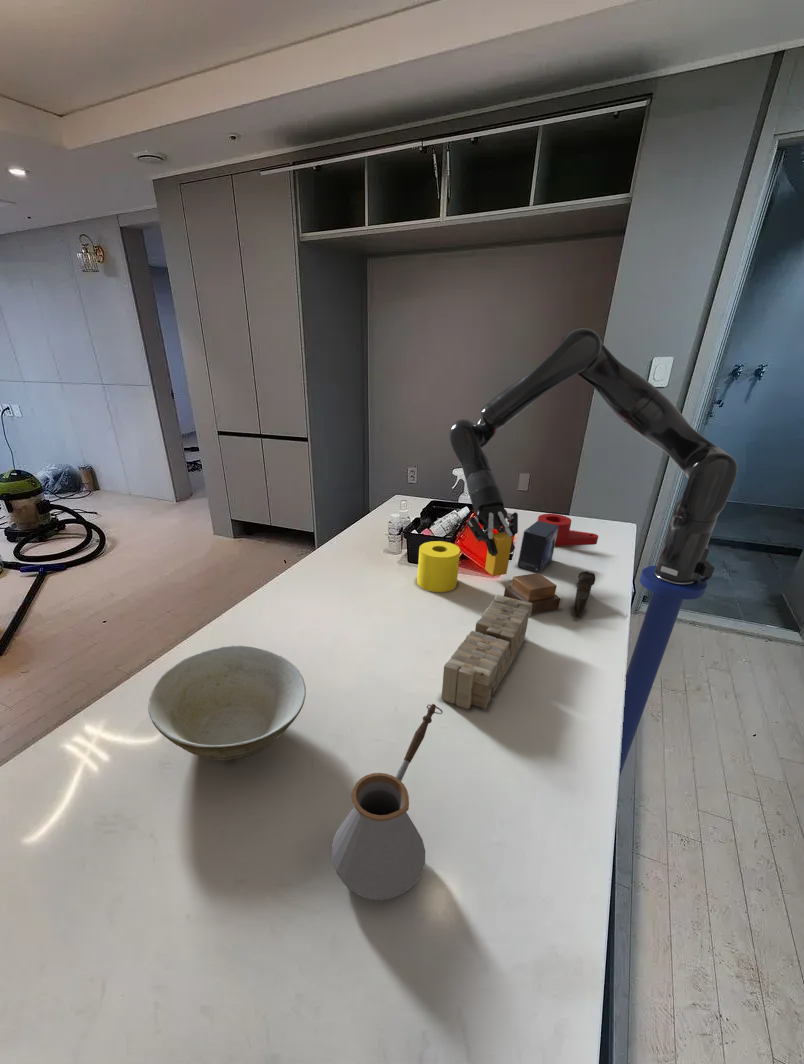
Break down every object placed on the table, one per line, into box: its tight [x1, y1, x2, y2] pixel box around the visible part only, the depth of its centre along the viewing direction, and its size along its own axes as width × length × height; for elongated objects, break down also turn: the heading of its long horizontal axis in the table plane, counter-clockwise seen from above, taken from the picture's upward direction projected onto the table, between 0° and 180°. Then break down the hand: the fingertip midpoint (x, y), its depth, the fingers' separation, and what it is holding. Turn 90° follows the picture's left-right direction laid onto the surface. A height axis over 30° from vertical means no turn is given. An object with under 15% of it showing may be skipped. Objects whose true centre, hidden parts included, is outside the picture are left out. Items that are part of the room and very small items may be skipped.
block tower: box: [441, 594, 532, 710], centre depth 98 cm, size 8×8×29 cm
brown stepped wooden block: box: [503, 572, 562, 616], centre depth 119 cm, size 9×9×6 cm
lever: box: [537, 513, 599, 547], centre depth 153 cm, size 18×9×7 cm, turn 80°
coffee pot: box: [330, 703, 444, 901], centre depth 63 cm, size 21×12×15 cm, turn 149°
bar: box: [484, 532, 513, 577], centre depth 129 cm, size 4×4×10 cm
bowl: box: [147, 645, 307, 761], centre depth 81 cm, size 24×24×10 cm
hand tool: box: [573, 570, 596, 619], centre depth 121 cm, size 19×4×5 cm, turn 151°
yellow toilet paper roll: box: [416, 540, 461, 593], centre depth 128 cm, size 10×10×9 cm
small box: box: [516, 520, 559, 573], centre depth 138 cm, size 11×6×10 cm, turn 143°
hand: (503, 553), depth 126 cm, fingers closed on bar, 4 cm apart
